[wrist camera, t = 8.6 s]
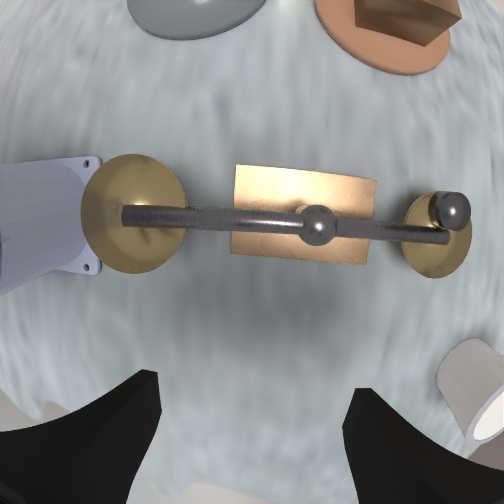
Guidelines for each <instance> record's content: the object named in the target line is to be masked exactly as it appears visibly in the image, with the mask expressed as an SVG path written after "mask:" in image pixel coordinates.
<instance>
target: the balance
mask: <svg viewBox="0 0 504 504" xmlns="http://www.w3.org/2000/svg"><path fill="white" fill-rule="evenodd" d="M375 190H376V180H370V179H364V178H357V177H350V176H343V175H336V174H328V173H320V172H312V171H303V170H293V169H283V168H272V167H260V166H247V165H237V166H236V179H235V192H234V206H233V209H231V208H212V207H190V206H188V203H187V198H186V195H185V192H184V189H183V187H182V185H181V183H180V181H179V179H178V178H177V177H176V175H175V174H174V173H173V172H172V171H171V170H170V169H169V168H168V167H167V166H166V165H165V164H163V163H162V162H160V161H158V160H156V159H154V158H151V157H148V156H143V155H138V154H127V155H121V156H117V157H115V158H113V159H110V160H109V161H107V162H105V163H104V164H103V165H102V166H100V167H99V168H98V169H97V170H96V171H95V172H94V174H93V175H92V176H91V178H90V180H89V181H88V183H87V185H86V187H85V190H84V193H83V196H82V201H81V210H80V215H81V225H82V229H83V233H84V236H85V238H86V241H87V243H88V245H89V246H90V248H91V250H92V251H93V252H94V254H95V255H96V256H97V257H98V258H99V259H100V260H101V261H102V262H103V263H105V264H106V265H108V266H109V267H111V268H113V269H115V270H117V271H120V272H124V273H130V274H138V273H144V272H148V271H151V270H153V269H155V268H157V267H159V266H161V265H162V264H163V263H164V262H166V261H167V260H168V259H169V258H171V256H172V255H173V254H174V253H175V252H176V251H177V249H178V248H179V246H180V245H181V243H182V241H183V238H184V236H185V233H186V229H195V230H218V231H232V235H231V250H230V253H232V254H243V255H255V256H266V257H278V258H289V259H301V260H313V261H324V262H336V263H348V264H360V265H366V260H367V254H368V248H369V241H370V239H372V240H386V241H399V242H401V245H402V250H403V253H404V256H405V258H406V260H407V262H408V263H409V265H410V266H411V267H412V268H413V269H414V270H415V271H417V272H418V273H420V274H421V275H423V276H425V277H428V278H442V277H445V276H447V275H449V274H451V273H452V272H454V271H455V270H456V269H457V268H458V267H459V266H460V265H461V264H462V262H463V261H464V259H465V257H466V256H467V253H468V251H469V248H470V244H471V239H472V224H471V219H470V216H471V207H470V203H469V201H468V199H467V198H466V196H465V195H463V194H462V193H458V192H447V191H431V192H428V193H425V194H423V195H421V196H420V197H419V198H417V199H416V200H415V201H414V202H413V203H412V205H411V206H410V207H409V209H408V211H407V213H406V215H405V217H404V220H403V223H395V222H386V221H377V220H372V218H373V209H374V200H375Z"/></svg>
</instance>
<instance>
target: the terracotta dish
mask: <svg viewBox="0 0 504 504" xmlns="http://www.w3.org/2000/svg"><path fill="white" fill-rule="evenodd" d="M314 3H315V9H316V13H317V16H318V18H319V20H320V22H321V24H322V25H323V27H324V29H325V30H326V31H327V33H328V34H329V35H330V36H331V37H332V39H333V40H334V41H335V42H336V43H337V44H338V45H340V46H341V47H342V48H343V49H344V50H345V51H347V52H348V53H349V54H351V55H352V56H354V57H355V58H357V59H358V60H360V61H362V62H364V63H366V64H368V65H369V66H372V67H374V68H376V69H379V70H382V71H385V72H388V73H393V74H398V75H416V74H421V73H424V72H427V71H428V70H430V69H432V68H433V67H435V66H436V65H438V64H439V63H440V62H442V61H443V60H444V58H445V57H446V55H447V53H448V51H449V46H450V32H449V28H448V29H447V30H446V31H445V32H443V33H442V34H441V35H439V36H438V37H437V38H436V39H434V40H433V41H432V42H431V43H429V44H428V45H427V46H426V47H423V46H420V45H417V44H415V43H412V42H409V41H406V40H403V39H399V38H396V37H393V36H390V35H386V34H383V33H379V32H375V31H371V30H367V29H363V28H359V27H355V8H354V0H314Z"/></svg>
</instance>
